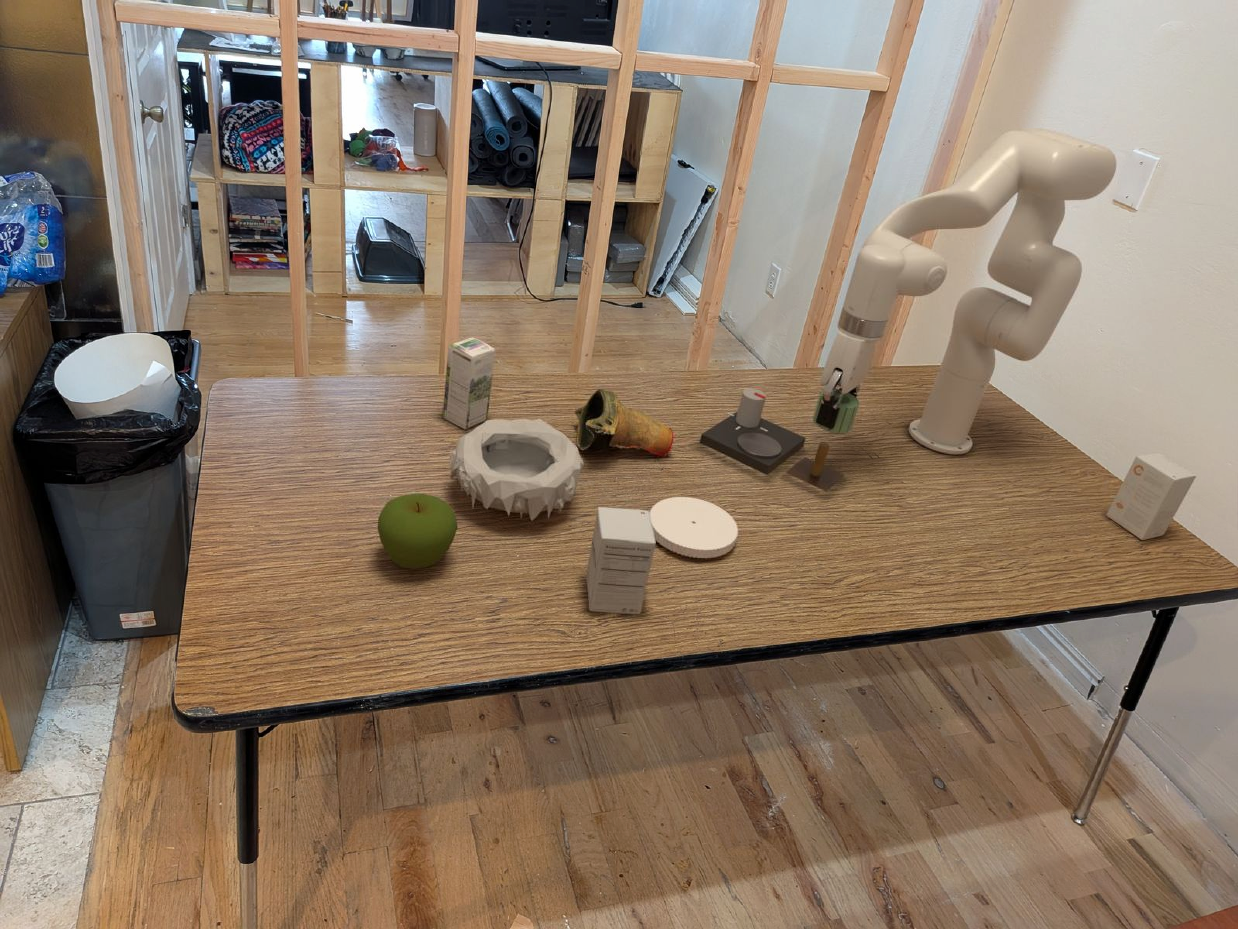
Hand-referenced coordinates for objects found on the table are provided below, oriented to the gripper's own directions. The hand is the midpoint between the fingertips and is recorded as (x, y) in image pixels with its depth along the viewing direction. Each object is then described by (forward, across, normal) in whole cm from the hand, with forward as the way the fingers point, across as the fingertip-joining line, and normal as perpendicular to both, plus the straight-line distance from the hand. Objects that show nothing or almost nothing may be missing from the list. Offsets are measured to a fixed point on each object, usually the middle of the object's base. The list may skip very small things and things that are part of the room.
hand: (833, 417), depth 158 cm
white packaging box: (+12, +54, -7) cm, 55 cm away
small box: (+13, -33, +50) cm, 61 cm away
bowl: (+12, +46, -32) cm, 57 cm away
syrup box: (+12, +33, -54) cm, 64 cm away
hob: (+12, 0, -13) cm, 18 cm away
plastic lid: (+12, +32, -7) cm, 35 cm away
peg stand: (+12, 0, 0) cm, 12 cm away
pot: (+12, +22, -31) cm, 39 cm away
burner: (+9, +3, -11) cm, 15 cm away
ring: (+1, 0, 0) cm, 1 cm away
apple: (+12, +68, -31) cm, 75 cm away
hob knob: (+9, -3, -17) cm, 19 cm away
